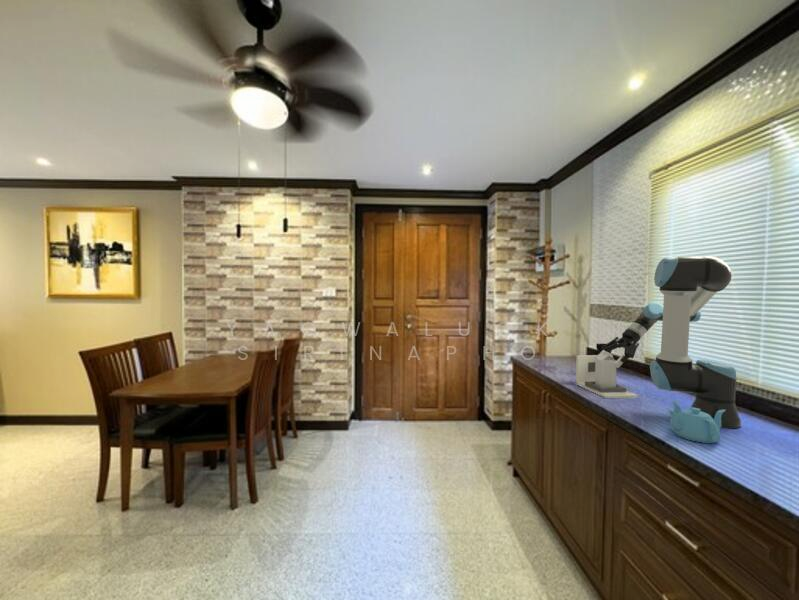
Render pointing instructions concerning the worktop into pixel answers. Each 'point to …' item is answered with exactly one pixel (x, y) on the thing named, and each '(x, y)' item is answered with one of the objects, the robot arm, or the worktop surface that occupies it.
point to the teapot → (695, 424)
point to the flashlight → (598, 347)
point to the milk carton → (605, 370)
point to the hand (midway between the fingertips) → (606, 363)
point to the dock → (587, 379)
